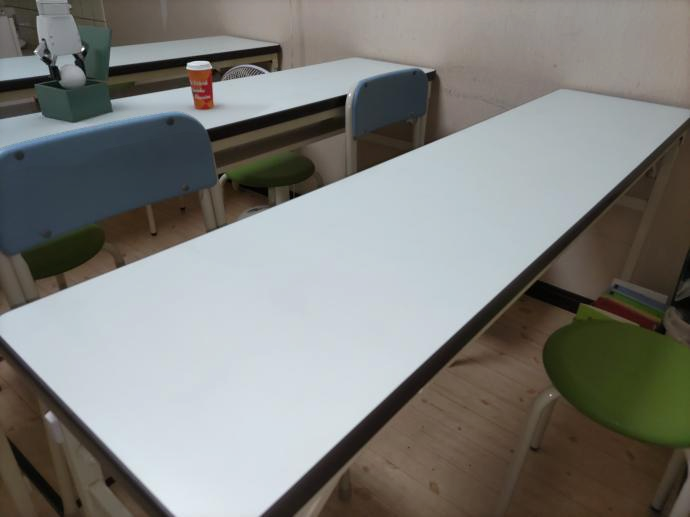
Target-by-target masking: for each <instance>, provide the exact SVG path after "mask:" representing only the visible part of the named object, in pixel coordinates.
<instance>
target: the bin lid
mask: <svg viewBox="0 0 690 517" xmlns="http://www.w3.org/2000/svg"><path fill="white" fill-rule="evenodd" d="M77 29H78V32H79V36H80V39H81V40H83V41H84V42H86V43H87V44H89V49H88V51H87V55H86V57H85V61H84V65H85V70H86V76H85V77H86V78H88V79H93V80H98V81H103V82H108V81H109V72H110V71H109V70H110V61H111V60H110V59H111V50H112V49H111V47H112V38H113V37H112V36H113V29H111V28H105V27H98V26H91V25H83V24H77ZM75 60H76V59H75V58H74V61H75Z"/></svg>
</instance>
